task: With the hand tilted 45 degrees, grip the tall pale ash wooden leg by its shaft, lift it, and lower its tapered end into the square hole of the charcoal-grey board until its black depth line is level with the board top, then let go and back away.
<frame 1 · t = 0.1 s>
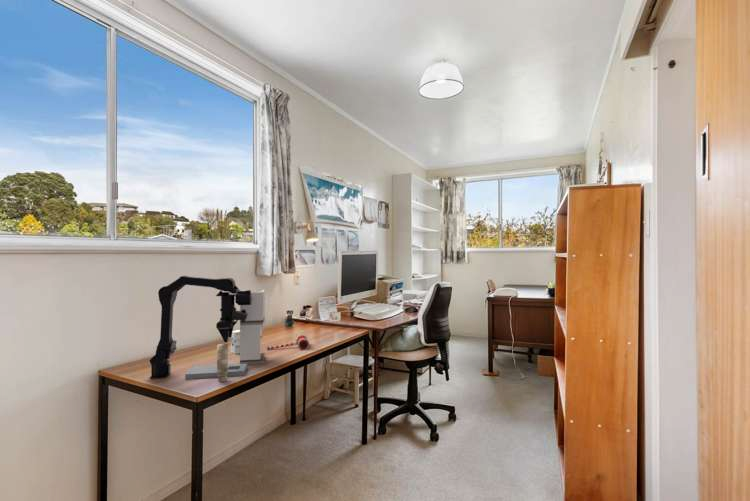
hand: (228, 339, 169), 15 cm above the table, tool pointing down, fingers open, 9 cm apart
tall grey banded box: (252, 361, 186), on the table
ink box: (239, 352, 202), on the table
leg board: (217, 373, 167), on the table
wooden leg: (222, 380, 158), on the table
toy hammer: (292, 349, 211), on the table
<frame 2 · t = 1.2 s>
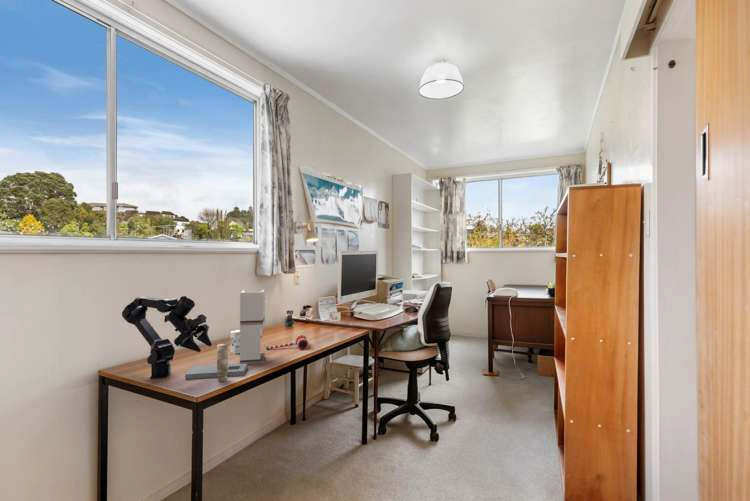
hand: (205, 348, 159), 13 cm above the table, tool tilted 45°, fingers open, 9 cm apart
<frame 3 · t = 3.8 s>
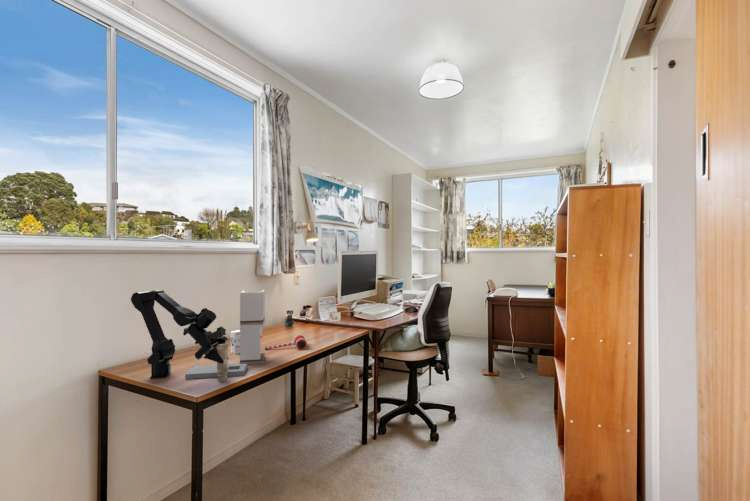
hand: (225, 361, 158), 8 cm above the table, tool tilted 45°, fingers closed on wooden leg, 4 cm apart
wooden leg: (222, 380, 158), on the table, touching gripper
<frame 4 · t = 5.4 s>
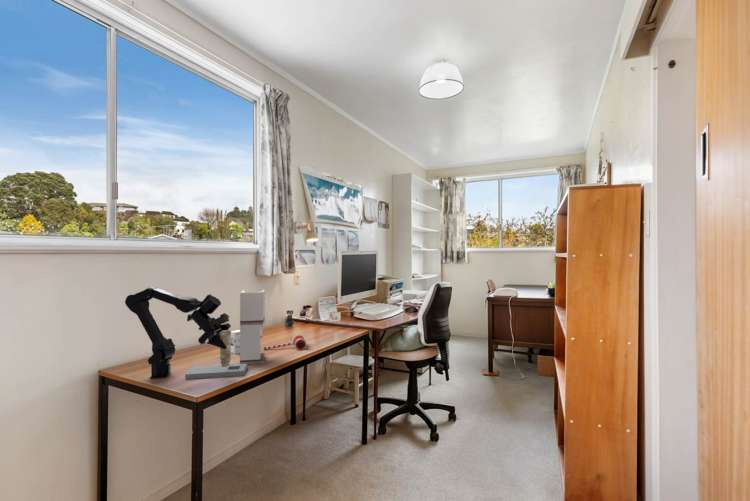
hand: (228, 347, 161), 13 cm above the table, tool tilted 45°, fingers closed on wooden leg, 4 cm apart
wooden leg: (225, 365, 161), point 5 cm above the table, touching gripper
when the fingers open (9 cm above the table, at t = 7.4 s): wooden leg stays where it is, resting in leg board.
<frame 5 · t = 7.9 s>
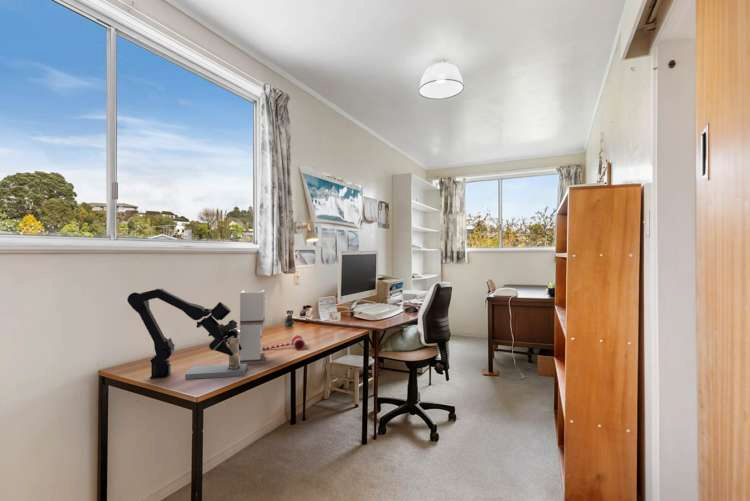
hand: (237, 352, 168), 9 cm above the table, tool tilted 45°, fingers open, 9 cm apart
wooden leg: (233, 372, 169), resting in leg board
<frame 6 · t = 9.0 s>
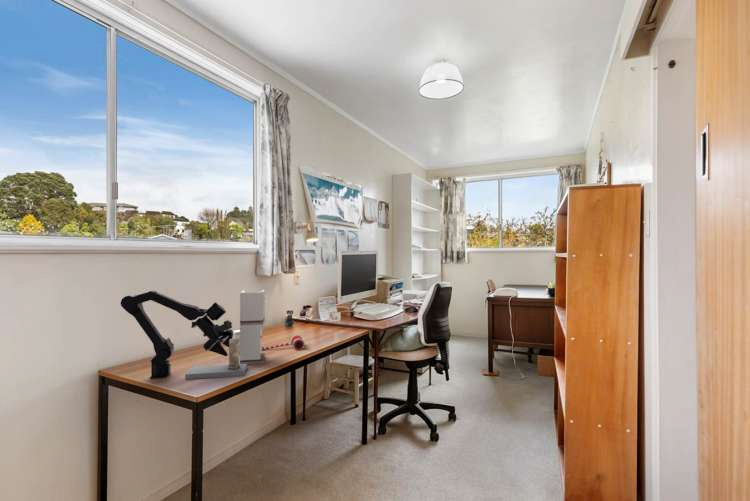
hand: (231, 352, 168), 9 cm above the table, tool tilted 45°, fingers open, 9 cm apart
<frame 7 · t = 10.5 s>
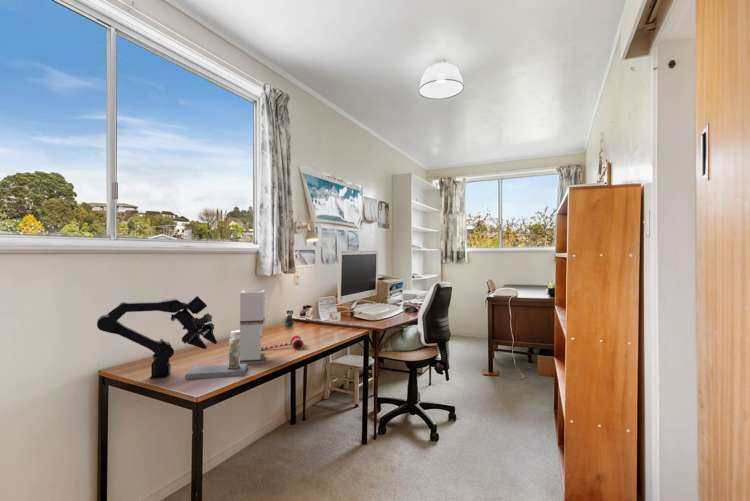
hand: (211, 345, 168), 12 cm above the table, tool tilted 45°, fingers open, 9 cm apart
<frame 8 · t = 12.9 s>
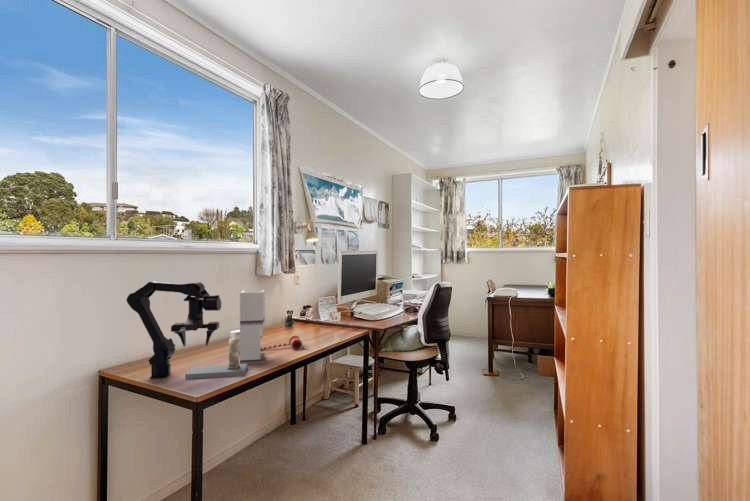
hand: (195, 345, 164), 13 cm above the table, tool pointing down, fingers open, 9 cm apart
at the end: wooden leg 0.0 cm from the target spot on the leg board, point 0.0 cm above the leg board's base; wooden leg tilted 0°; the gripper is holding nothing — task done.
